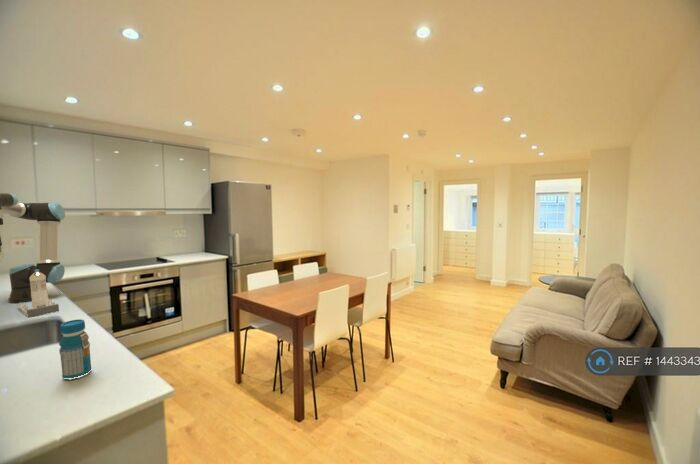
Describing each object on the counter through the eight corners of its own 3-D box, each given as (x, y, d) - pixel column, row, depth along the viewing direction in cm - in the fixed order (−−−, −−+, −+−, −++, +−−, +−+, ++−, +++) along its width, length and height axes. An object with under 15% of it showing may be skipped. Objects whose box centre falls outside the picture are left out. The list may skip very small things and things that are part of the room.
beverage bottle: (67, 383, 111) (61, 328, 109) (58, 377, 115) (53, 324, 113) (96, 372, 118) (91, 320, 116) (86, 366, 122) (82, 316, 121)
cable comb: (18, 308, 192) (17, 302, 192) (47, 303, 203) (46, 297, 202) (28, 317, 177) (27, 310, 176) (59, 311, 187) (58, 304, 187)
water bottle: (39, 314, 182) (34, 271, 179) (29, 313, 183) (25, 270, 181) (52, 310, 188) (48, 268, 186) (43, 309, 190) (39, 268, 188)
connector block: (27, 316, 178) (26, 310, 178) (58, 310, 188) (57, 303, 188) (28, 317, 177) (27, 310, 176) (59, 311, 187) (58, 304, 187)
